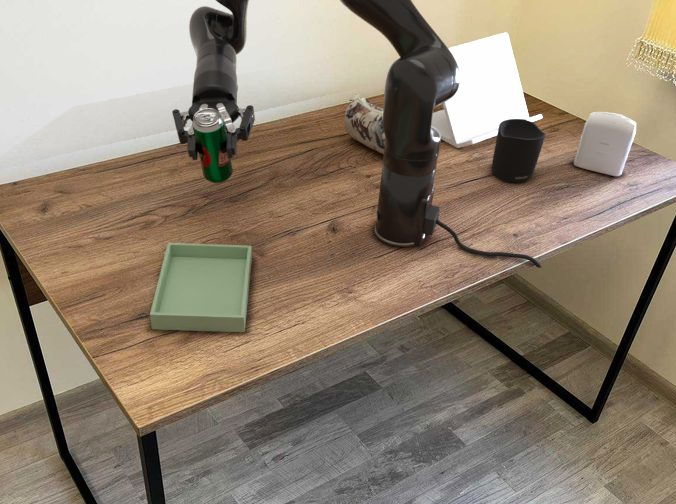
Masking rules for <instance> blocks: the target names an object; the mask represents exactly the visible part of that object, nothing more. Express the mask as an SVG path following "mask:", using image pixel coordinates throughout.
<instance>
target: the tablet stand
mask: <svg viewBox="0 0 676 504" xmlns="http://www.w3.org/2000/svg"><path fill="white" fill-rule="evenodd" d="M447 48H448V49H449V50H450V52H451V53H452V55H453V56H454V58H455V60H456V62H457V65H458V67H459V71H460V85H459V89H458V91H457V93H456V94H455V95H454V96H453V97H452V98H451V99H449V100H448V101H446V102H444V103H443V104H442V106H443V107H442V108H443V109H441V110H438V111H435V112H434V111H433V115H432V123H431V126H432V127H434V128H435V129H437V130H438V132H439V133H440V136H441V140H442V141H444V142H446V143H448V144H449V145H450V146H453V147H454V148H457V149H460V148H464V147H468V146H471V145H475V144H477V143H480V142H482V141H485V140H488V139H491V138H493V137H497V134H498V129H499V125H500V123H501V122H502V121H504V120H508V119H524V120H529V121H531V122H533V123H534V122H536V121H538V120H541V119H543V114H542V113H540V114H539V113H538V114H537V115H533V116H529V115H530V114H529V112H528V111H529V110H528V108H527V103H526V99H525V95H524V92H523V87H522V84H521V80H520V76H519V71H518V67H517V64H516V59H515V56H514V52H513V47H512V44H511V40H510V35H509V33H507V32H503V33H499V34H495V35H491V36H487V37H484V38H480V39H477V40H473V41H469V42H466V43H462V44H459V45H454V46H451V47H447Z"/></svg>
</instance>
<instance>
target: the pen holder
mask: <svg viewBox="0 0 676 504" xmlns="http://www.w3.org/2000/svg"><path fill="white" fill-rule="evenodd" d="M546 134H547V133H546V132H545V131H542V130H541V129H540V128H539V126H538V125H536V124H535V122H534V121H533V122H531V121H529V120H524V119H508V120H504V121H502V122H501V123H500V125H499V129H498V134H497V135H496V140H495V145H494V150H493V156H492V163H491V172H492V174H493V175H494V176H495V177H496V178H497V179H499V180H501V181H503V182H507V183H512V184H523V183H526V182H528V181H529V180H531V179H532V178H533V175H534V172H535V170H536V166H537V165H538V161H539V158H540V155H541V150H542V147H543V145H544V142H545V138H546V136H547V135H546Z"/></svg>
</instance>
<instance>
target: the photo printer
mask: <svg viewBox="0 0 676 504" xmlns="http://www.w3.org/2000/svg"><path fill="white" fill-rule="evenodd" d="M636 132H637V122H636V121H635V120H633V119H631V118H629V117H627V116H625V115H623V114H619V113H616V112H611V111H593V112H590V114H589V116H588V117H587V119H586V121H585V123H584V126H583V129H582V133H581V136H580V140H579V142H578V147H577V151H576V153H575V157H574V160H573V165H574V166H575V167H576V168H581V169H584V170H588V171H592V172H596V173H600V174H604V175H608V176H613V177H620V176H621V175H622V173H623V171H624V168H625V165H626V163H627V160H628V156H629V154H630V150H631V148H632V145H633V142H634V139H635V136H636Z"/></svg>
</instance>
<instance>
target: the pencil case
mask: <svg viewBox="0 0 676 504" xmlns="http://www.w3.org/2000/svg"><path fill="white" fill-rule="evenodd" d="M349 102H350V104H349V105H348V106H347V107H346V110H345V113H344V116H343V117H344V118H343V125H344V129H345V131H346V132H347V134H349V135H350V136H351V138H353V139H354V140H355V141H357V142H359V143H361V144H363V145H364V146H366V147H367V148H369V149H371V150H374V151H375V152H377V153H379V154H382V155H383V156H384V149H385V134H384V130H383V108H382V107H380V106H377V105H376V104H375V105H374V104H372V103H371V102H370V101H369V99H368V98H367V97H364V96H360V94H354V95H353V96H351V97H350V99H349Z"/></svg>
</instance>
